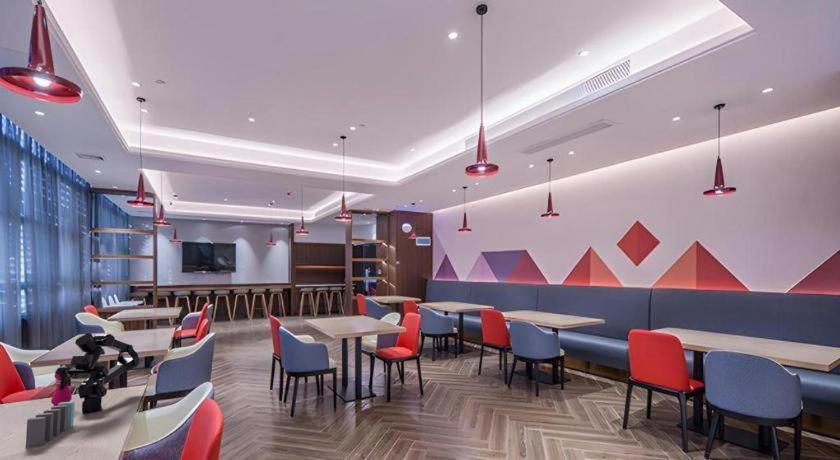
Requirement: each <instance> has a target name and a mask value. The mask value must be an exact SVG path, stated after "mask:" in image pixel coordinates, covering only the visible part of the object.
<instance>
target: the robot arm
mask: <svg viewBox="0 0 840 460" xmlns="http://www.w3.org/2000/svg"><path fill="white" fill-rule="evenodd" d="M74 343H75V345H76V346H77V347H78V349H79V350H81V352H82V353H84V355H74V356H73V355H72V357H71V360H70V363H69V364H70V365H73V368H74V369H71V368H70V366H66V367H61V366H60V367H58V368H56V370H55V371H54V374H55V373H56V374H57V375H58V377H59V378H60V379H61V382H60V389H59V390H60V391H62V390H63V389H64V388H65V386H66V385H67V384H68V385H69V382H70V381H71V380H72V379H71V378H73V375H89V377H88V378H87V379H85V380H82V383H80V385H79V386H78V389H77V393H78V397H79V399H84V400H83V401H82V403H81V412H82V414H84V415H85V414H90V413H94V412H100V411H102V407H103V406H102V400H103V397H105V396H107V393H108V389H107V388H106V387H105V385H107V384H108V383H110V382H111V381H113V380H114V379H116V378H118V376H119V375H120V376H121V374H123V373H124V372H127V371H131V370H134V369H136V368H137V367H138V366H139V364H140V357H139V354H138V353H137V352H136V350H135V349H134V346H133V345H132V344H129V343H126V342H124V341H120V340H118V339H116V336H114V335H112V333H101V334H100V333H98V334H97V333H96V334H95V335H93V334H92V333H91V332H86V333H84V335H81V336H79V337H78V338H77V339H76V340H75V342H74ZM104 348H109V349H111V350H114V351H116V352H118V353H119V354H118V356H117V359H116V361H117V363H116V365H115V366H113V367H111V368H110V369H108V368H107V366H106V365H99V363H98V361H99V359H100V357H101V356H102V355H105V354H106V352H105V349H104ZM124 353H128V356H124Z"/></svg>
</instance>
